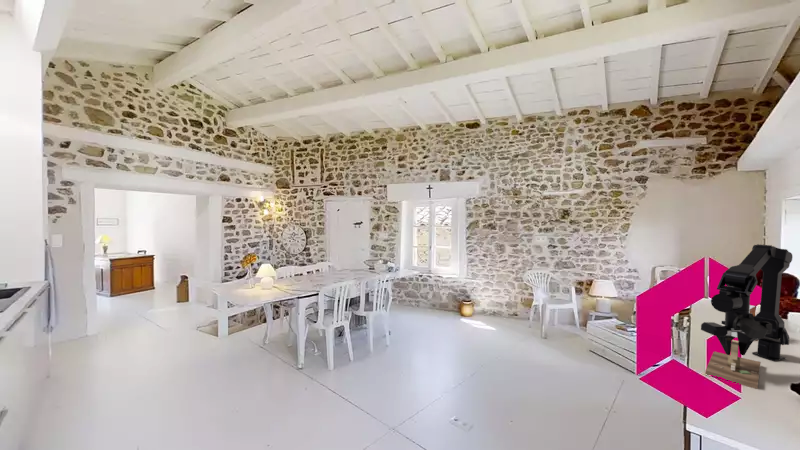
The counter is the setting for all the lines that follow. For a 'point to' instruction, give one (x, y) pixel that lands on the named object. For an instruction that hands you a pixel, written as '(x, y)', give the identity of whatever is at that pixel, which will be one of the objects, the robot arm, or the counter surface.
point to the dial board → (742, 375)
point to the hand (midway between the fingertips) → (735, 354)
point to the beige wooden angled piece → (734, 356)
